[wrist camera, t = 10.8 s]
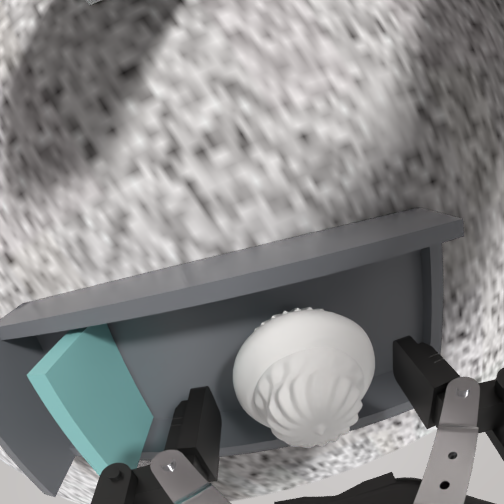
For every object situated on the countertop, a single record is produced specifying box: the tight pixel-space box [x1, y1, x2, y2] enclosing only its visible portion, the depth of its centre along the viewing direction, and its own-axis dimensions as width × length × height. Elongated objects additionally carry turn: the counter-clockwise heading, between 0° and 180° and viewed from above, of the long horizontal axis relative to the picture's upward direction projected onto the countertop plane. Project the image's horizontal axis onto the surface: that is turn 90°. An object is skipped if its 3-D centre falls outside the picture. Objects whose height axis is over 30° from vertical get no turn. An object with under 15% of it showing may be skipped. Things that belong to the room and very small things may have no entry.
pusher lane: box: [0, 207, 464, 497], centre depth 13 cm, size 25×10×8 cm, turn 104°
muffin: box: [233, 307, 375, 448], centre depth 12 cm, size 6×6×7 cm
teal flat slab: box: [27, 323, 153, 476], centre depth 13 cm, size 1×8×6 cm, turn 14°
